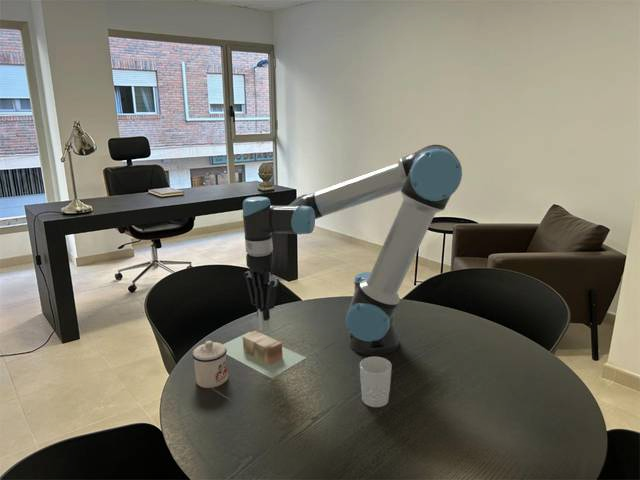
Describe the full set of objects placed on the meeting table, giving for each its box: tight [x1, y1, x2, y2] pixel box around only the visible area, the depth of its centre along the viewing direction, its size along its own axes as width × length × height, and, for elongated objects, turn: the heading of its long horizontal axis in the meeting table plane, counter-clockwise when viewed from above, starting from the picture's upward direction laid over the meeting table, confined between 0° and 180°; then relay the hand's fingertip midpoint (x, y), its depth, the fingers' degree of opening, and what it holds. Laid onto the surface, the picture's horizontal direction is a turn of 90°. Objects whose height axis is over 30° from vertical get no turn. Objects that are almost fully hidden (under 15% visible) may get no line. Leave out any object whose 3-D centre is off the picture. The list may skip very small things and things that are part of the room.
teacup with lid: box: [192, 340, 229, 389], centre depth 127 cm, size 12×9×12 cm
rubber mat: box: [223, 331, 307, 381], centre depth 140 cm, size 26×14×1 cm, turn 48°
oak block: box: [243, 330, 283, 365], centre depth 139 cm, size 5×5×12 cm
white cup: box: [359, 356, 393, 408], centre depth 116 cm, size 8×8×10 cm
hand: (264, 328), depth 136 cm, fingers closed
